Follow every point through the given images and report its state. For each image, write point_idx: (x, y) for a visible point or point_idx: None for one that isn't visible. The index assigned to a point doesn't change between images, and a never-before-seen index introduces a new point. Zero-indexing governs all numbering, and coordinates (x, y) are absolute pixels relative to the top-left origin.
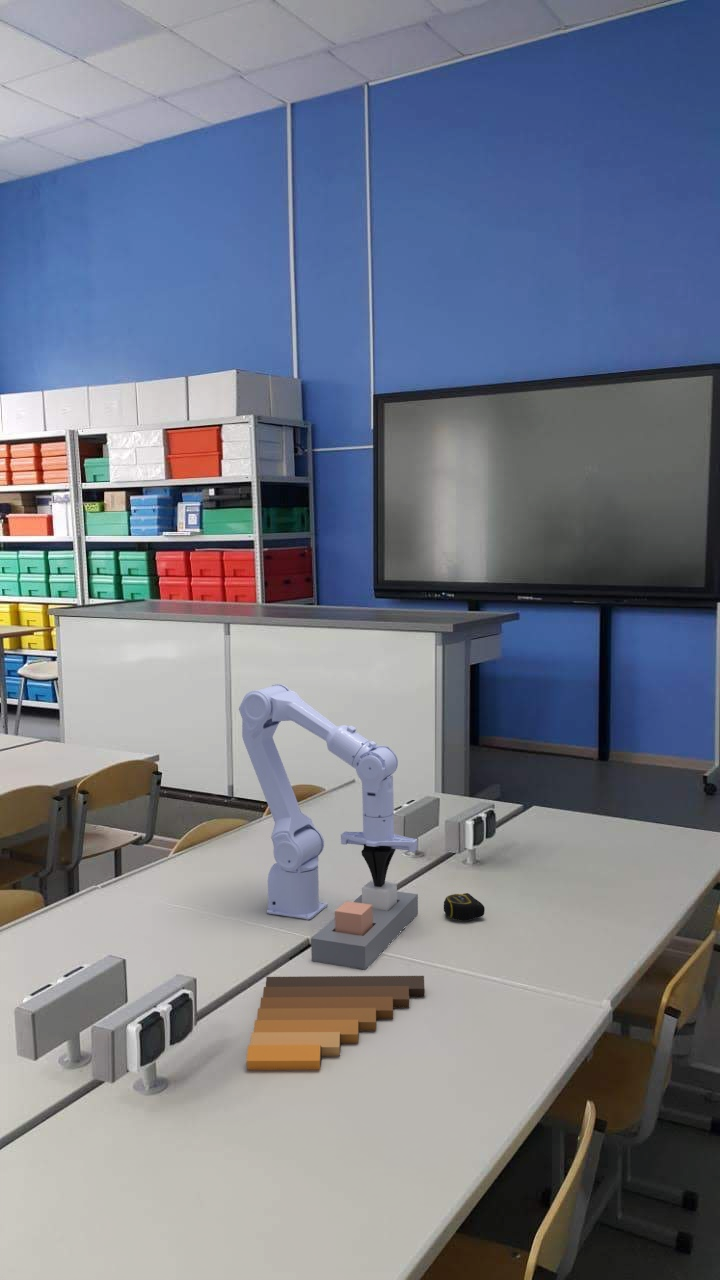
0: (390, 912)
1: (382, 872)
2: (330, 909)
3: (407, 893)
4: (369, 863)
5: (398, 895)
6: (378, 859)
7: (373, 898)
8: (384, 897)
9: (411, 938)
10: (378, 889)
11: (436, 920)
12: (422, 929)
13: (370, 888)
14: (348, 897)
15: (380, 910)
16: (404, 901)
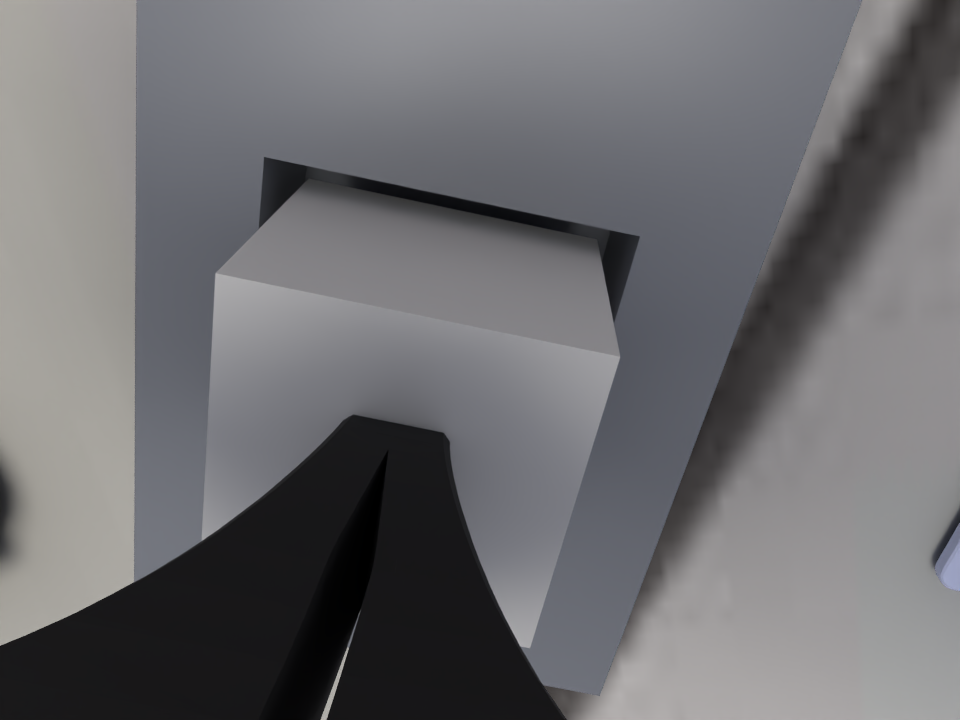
0: (233, 120)
1: (230, 526)
2: (901, 516)
3: None
4: (474, 670)
5: None
6: (148, 703)
7: (448, 268)
8: (284, 247)
9: (88, 3)
10: (361, 334)
11: (34, 407)
12: (70, 223)
13: (487, 359)
14: (768, 711)
15: (365, 168)
16: (189, 439)
